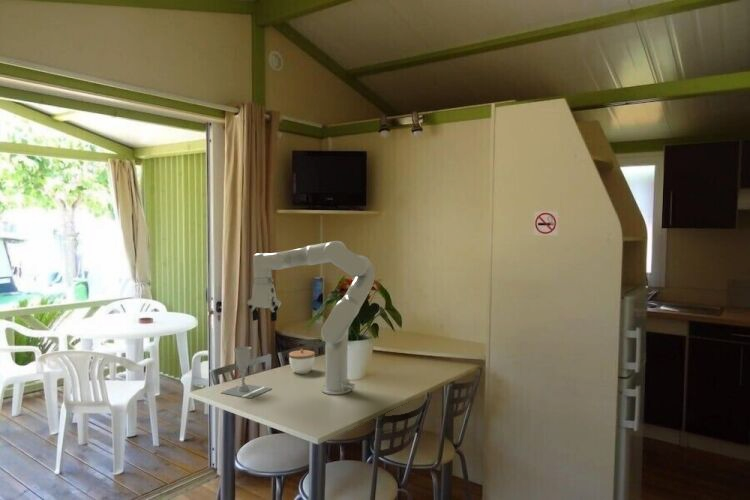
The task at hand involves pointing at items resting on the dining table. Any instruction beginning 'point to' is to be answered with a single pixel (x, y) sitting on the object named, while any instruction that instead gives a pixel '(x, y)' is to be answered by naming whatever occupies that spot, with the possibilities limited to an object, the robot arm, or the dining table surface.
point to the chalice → (242, 364)
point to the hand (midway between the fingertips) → (264, 320)
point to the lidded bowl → (302, 360)
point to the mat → (250, 393)
